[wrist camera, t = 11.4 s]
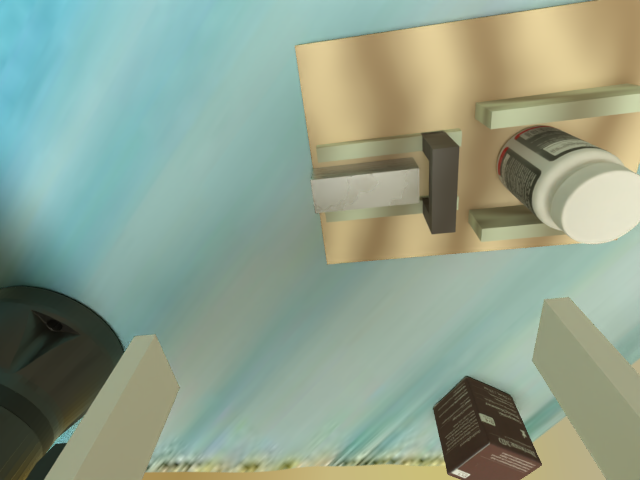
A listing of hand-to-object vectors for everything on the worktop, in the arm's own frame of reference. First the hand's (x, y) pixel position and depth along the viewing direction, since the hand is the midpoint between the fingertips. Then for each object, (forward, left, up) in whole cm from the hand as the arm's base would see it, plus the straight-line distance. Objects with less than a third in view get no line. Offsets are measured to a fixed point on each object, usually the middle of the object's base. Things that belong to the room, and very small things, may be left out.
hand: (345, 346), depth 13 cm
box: (+11, -27, -18) cm, 34 cm away
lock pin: (+1, 0, -16) cm, 16 cm away
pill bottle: (+13, 0, -16) cm, 21 cm away
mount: (+9, +1, -18) cm, 20 cm away
